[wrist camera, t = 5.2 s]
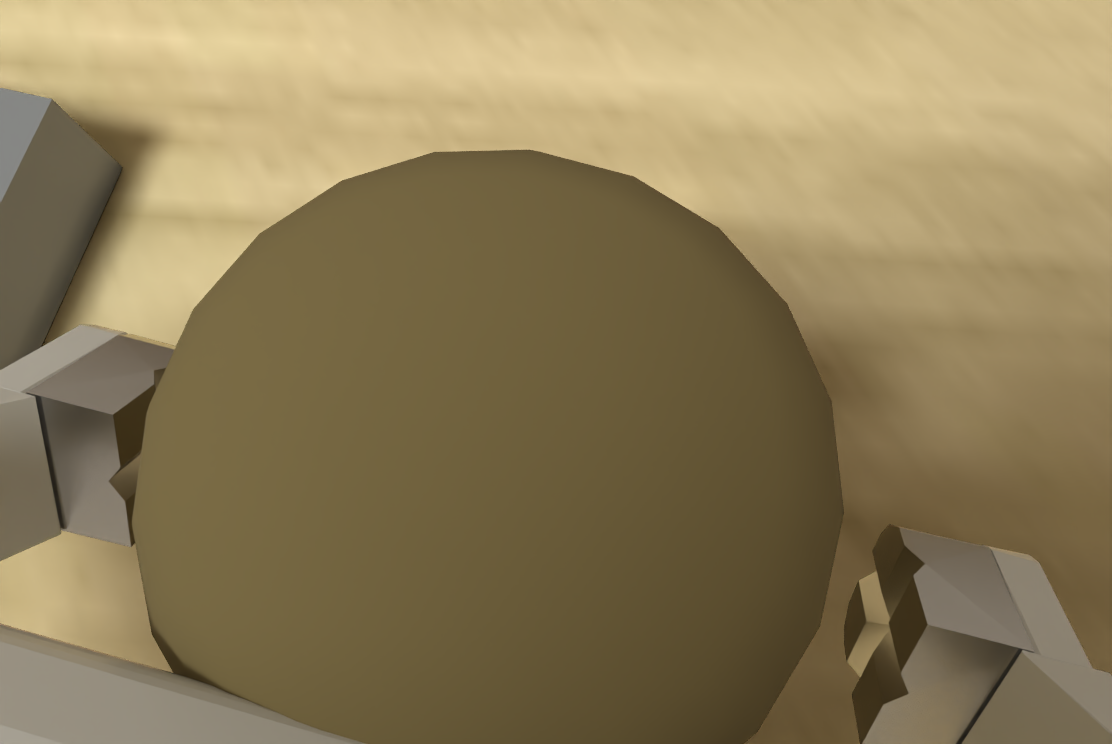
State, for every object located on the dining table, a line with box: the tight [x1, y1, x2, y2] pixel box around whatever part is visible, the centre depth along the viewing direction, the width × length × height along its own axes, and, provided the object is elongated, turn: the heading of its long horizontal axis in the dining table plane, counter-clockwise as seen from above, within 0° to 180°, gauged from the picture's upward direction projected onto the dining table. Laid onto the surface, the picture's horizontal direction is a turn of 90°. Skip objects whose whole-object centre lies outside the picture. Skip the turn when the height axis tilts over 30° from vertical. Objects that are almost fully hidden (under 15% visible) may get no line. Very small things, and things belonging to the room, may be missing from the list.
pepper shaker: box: [132, 150, 844, 744], centre depth 10 cm, size 6×6×11 cm
